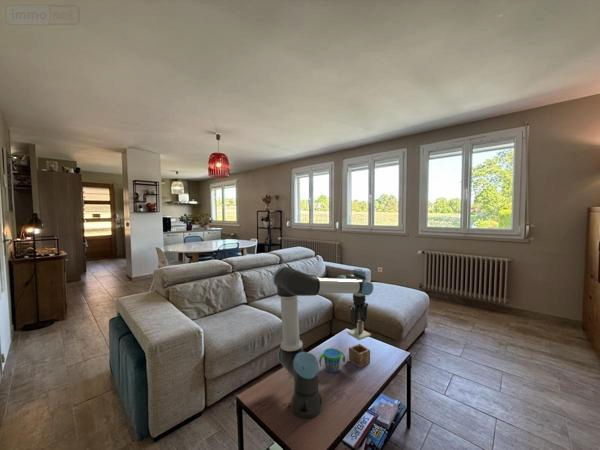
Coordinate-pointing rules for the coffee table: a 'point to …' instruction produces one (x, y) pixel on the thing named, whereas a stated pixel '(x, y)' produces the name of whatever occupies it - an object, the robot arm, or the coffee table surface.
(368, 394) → the coffee table surface
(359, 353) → the box
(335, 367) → the snack cup
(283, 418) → the coffee table surface
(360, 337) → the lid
